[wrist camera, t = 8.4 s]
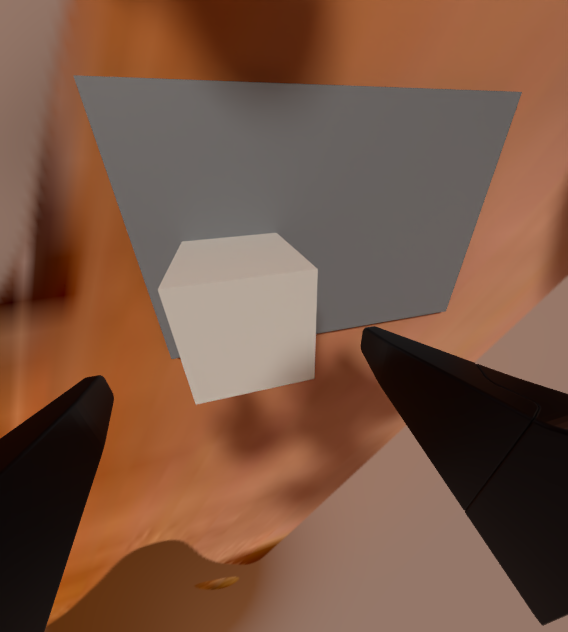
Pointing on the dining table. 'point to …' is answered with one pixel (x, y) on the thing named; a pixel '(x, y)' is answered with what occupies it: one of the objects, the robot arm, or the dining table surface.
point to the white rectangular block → (241, 314)
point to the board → (305, 180)
